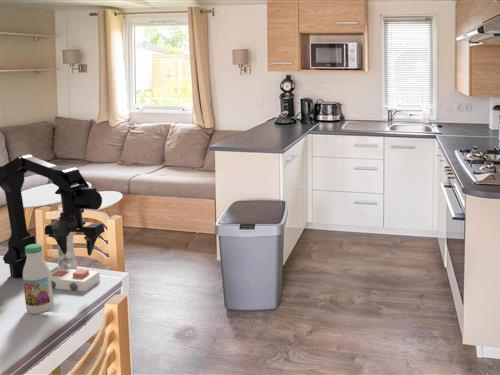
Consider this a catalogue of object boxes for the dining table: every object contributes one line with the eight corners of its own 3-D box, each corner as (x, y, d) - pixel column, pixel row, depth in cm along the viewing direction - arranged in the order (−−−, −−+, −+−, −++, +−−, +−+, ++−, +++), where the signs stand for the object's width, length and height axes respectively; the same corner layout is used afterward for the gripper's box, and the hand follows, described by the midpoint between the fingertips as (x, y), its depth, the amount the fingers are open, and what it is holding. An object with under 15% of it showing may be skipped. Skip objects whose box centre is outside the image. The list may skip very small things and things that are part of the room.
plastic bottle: (80, 268, 198) (75, 214, 193) (73, 275, 191) (67, 220, 187) (63, 267, 198) (58, 214, 194) (55, 274, 192) (49, 219, 188)
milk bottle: (33, 303, 168) (25, 241, 164) (57, 303, 168) (51, 241, 164) (22, 315, 161) (14, 250, 156) (48, 314, 161) (40, 250, 156)
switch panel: (40, 289, 179) (38, 277, 179) (57, 278, 188) (56, 267, 187) (84, 293, 175) (83, 281, 174) (100, 282, 184) (99, 270, 183)
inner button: (52, 279, 181) (51, 274, 181) (59, 275, 184) (58, 270, 184) (61, 280, 180) (61, 275, 180) (68, 276, 183) (67, 271, 183)
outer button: (73, 278, 179) (72, 273, 178) (79, 274, 182) (79, 269, 182) (82, 279, 178) (82, 274, 177) (89, 275, 181) (88, 270, 181)
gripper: (30, 213, 169) (36, 261, 172) (82, 215, 163) (88, 264, 167) (52, 204, 179) (58, 250, 182) (102, 206, 174) (107, 253, 177)
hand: (77, 254), depth 177 cm, fingers open, 9 cm apart
